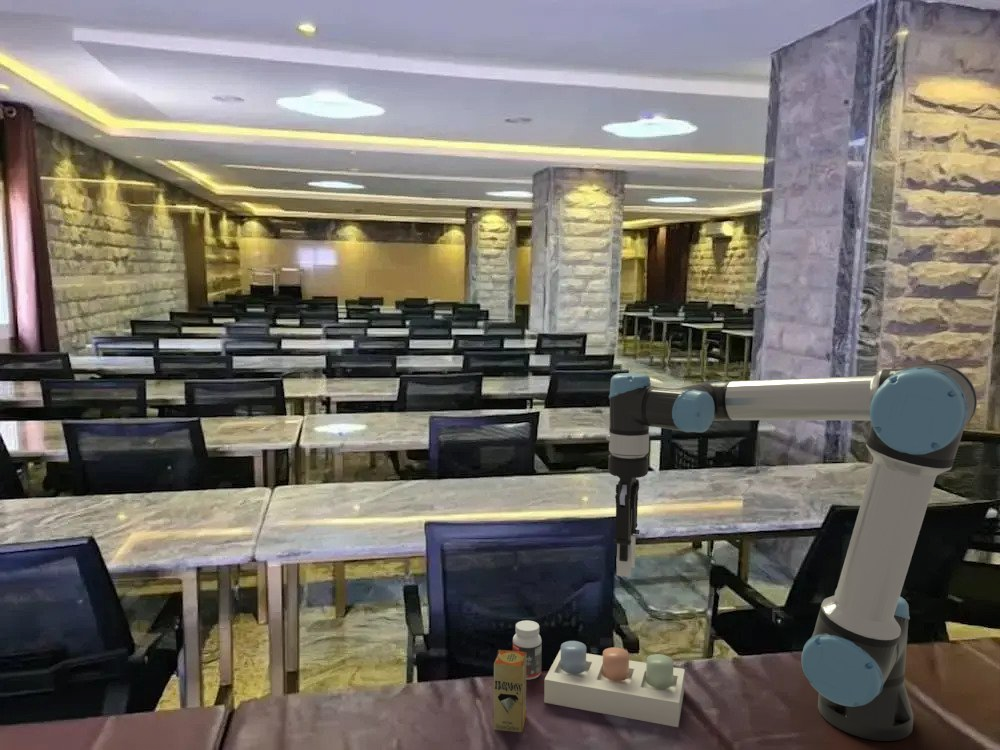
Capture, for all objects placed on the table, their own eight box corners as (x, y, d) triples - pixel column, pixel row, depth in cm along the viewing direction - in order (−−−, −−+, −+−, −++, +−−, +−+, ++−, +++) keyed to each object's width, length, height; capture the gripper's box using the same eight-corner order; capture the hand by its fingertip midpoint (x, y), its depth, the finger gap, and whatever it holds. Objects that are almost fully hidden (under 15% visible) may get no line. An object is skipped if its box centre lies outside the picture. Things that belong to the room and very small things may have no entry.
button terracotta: (630, 669, 138) (630, 649, 137) (626, 682, 133) (626, 661, 133) (605, 665, 139) (605, 645, 139) (600, 678, 135) (600, 657, 134)
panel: (684, 691, 139) (684, 669, 138) (678, 727, 127) (678, 702, 127) (560, 670, 146) (560, 649, 146) (544, 702, 135) (544, 679, 134)
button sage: (674, 677, 135) (674, 656, 135) (671, 690, 131) (672, 669, 130) (647, 672, 137) (648, 652, 136) (644, 685, 132) (644, 664, 132)
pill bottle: (507, 676, 144) (507, 628, 143) (520, 663, 149) (520, 616, 148) (533, 683, 141) (534, 634, 140) (546, 670, 146) (546, 622, 145)
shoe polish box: (498, 713, 131) (498, 649, 130) (526, 716, 131) (526, 652, 129) (493, 729, 127) (493, 663, 125) (522, 732, 126) (522, 666, 124)
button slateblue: (588, 663, 140) (588, 643, 140) (583, 675, 136) (583, 654, 135) (563, 659, 142) (564, 639, 141) (557, 671, 137) (558, 650, 137)
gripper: (616, 443, 150) (614, 554, 153) (600, 462, 134) (598, 585, 137) (653, 446, 148) (650, 558, 151) (641, 465, 132) (638, 590, 134)
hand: (625, 570), depth 144 cm, fingers open, 4 cm apart
